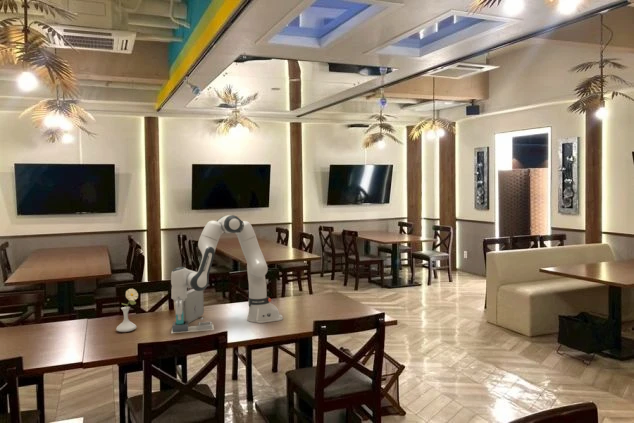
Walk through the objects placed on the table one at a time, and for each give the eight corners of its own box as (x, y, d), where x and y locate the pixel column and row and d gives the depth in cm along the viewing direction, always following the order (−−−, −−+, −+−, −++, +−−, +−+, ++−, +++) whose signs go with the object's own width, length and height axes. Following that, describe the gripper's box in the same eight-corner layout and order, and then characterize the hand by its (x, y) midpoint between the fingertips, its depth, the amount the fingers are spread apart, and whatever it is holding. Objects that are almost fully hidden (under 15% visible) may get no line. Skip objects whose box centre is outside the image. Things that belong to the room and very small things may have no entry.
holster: (212, 325, 295) (211, 321, 295) (212, 329, 287) (212, 325, 287) (198, 326, 293) (198, 322, 293) (198, 330, 285) (197, 326, 285)
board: (213, 327, 296) (213, 324, 296) (214, 332, 286) (213, 329, 286) (172, 330, 291) (172, 327, 291) (171, 335, 280) (171, 333, 280)
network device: (189, 328, 295) (188, 295, 294) (176, 327, 297) (174, 294, 296) (207, 316, 320) (206, 286, 319) (194, 316, 322) (193, 286, 321)
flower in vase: (118, 334, 284) (116, 292, 283) (114, 330, 294) (112, 288, 293) (141, 330, 291) (139, 289, 290) (137, 326, 301) (135, 286, 300)
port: (188, 327, 292) (188, 320, 292) (187, 331, 284) (187, 324, 283) (173, 328, 290) (173, 321, 290) (172, 332, 282) (172, 325, 282)
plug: (183, 324, 289) (183, 310, 289) (183, 326, 285) (183, 311, 285) (176, 324, 288) (176, 310, 288) (176, 326, 284) (175, 312, 284)
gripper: (184, 298, 276) (184, 322, 277) (185, 291, 296) (186, 313, 297) (172, 299, 275) (173, 323, 276) (174, 291, 295) (175, 314, 296)
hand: (179, 318), depth 287 cm, fingers closed on plug, 4 cm apart
